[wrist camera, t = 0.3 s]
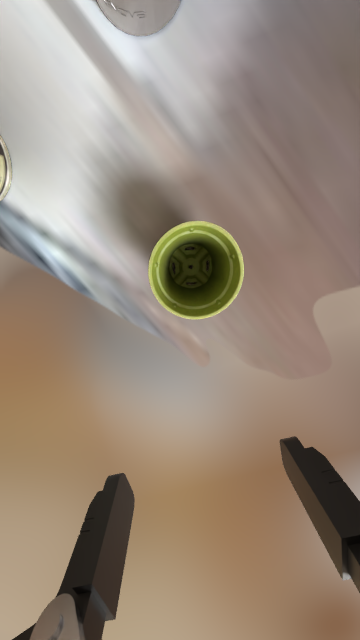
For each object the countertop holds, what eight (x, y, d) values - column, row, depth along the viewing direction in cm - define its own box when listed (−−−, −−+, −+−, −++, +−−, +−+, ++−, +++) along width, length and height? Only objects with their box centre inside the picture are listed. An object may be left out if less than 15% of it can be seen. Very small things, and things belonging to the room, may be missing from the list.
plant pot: (224, 225, 26) (244, 215, 18) (225, 296, 29) (243, 315, 21) (153, 233, 26) (140, 226, 18) (162, 302, 29) (155, 323, 21)
